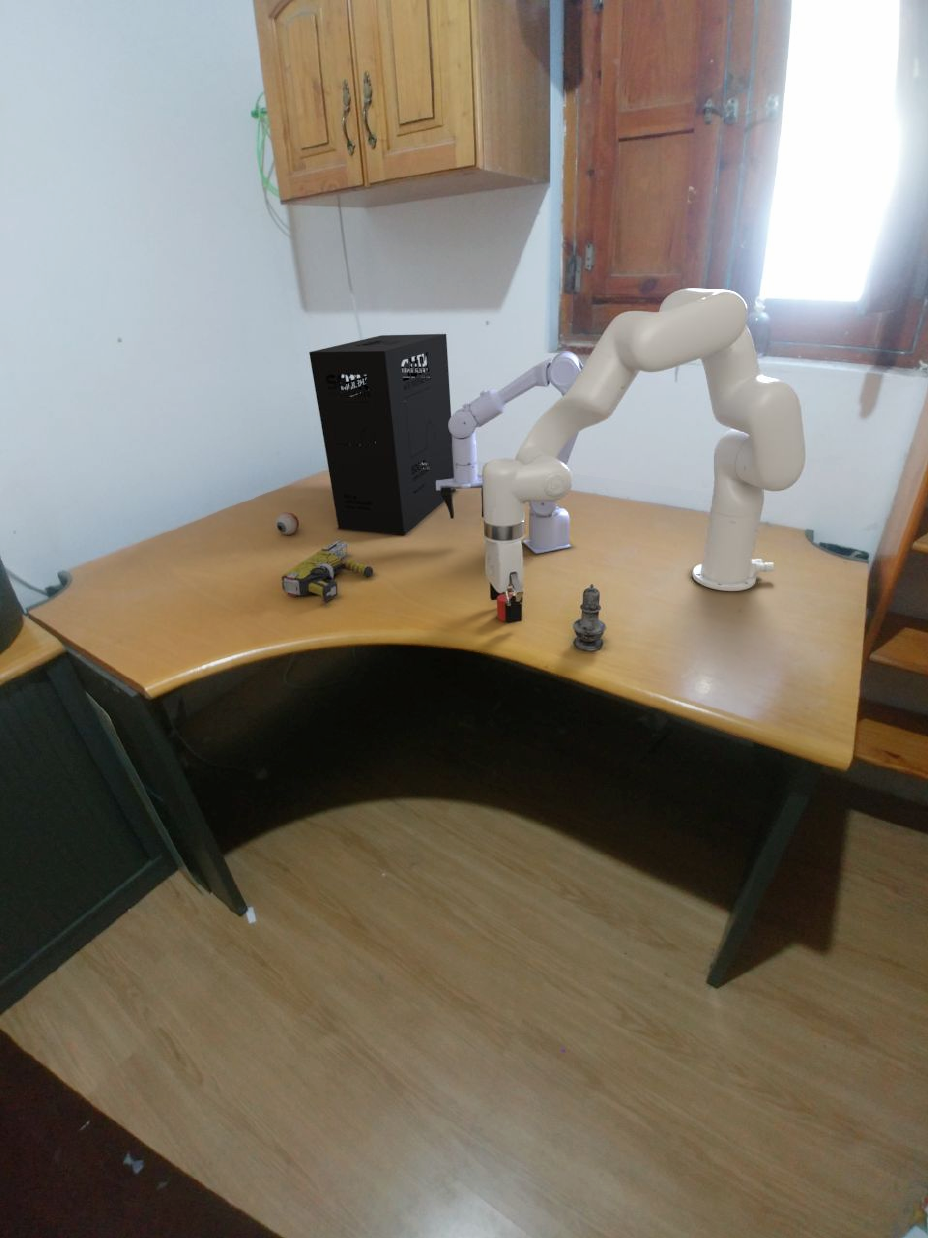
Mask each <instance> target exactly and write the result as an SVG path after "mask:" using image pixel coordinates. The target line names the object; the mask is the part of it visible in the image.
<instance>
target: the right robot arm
mask: <svg viewBox="0 0 928 1238" xmlns="http://www.w3.org/2000/svg"><path fill="white" fill-rule="evenodd" d="M748 316H749V311H748V305H747V303H746V301H745V299H744V298H743V297H742V296H741V295H740V294H739V293H737V292H735V291H732V290H728V289H707V288H682V289H678V290H676V291H673V292H672V293H670V294H669V295H667V296H666V297H665V298H664V299H663V301H662V302H661V304H660V307H659V310H658V311H656V312H654V311H644V310H628V311H625V312H621V313H619V314H618V315H616V316H615V317H614V318H613V319H612V320H611V322H609V324H608V326H607V327H606V328H605V330H604V332H603V334H602V335H601V337H600V338H599V340H598V342H597V343H596V344H595V346H594V348H593V349H592V351H591V353H590V355H589V356H588V358H587V359H586V361H585V363H584V365H583V368H582V370H581V372H580V373H579V374H578V376H577V378H576V379H575V381H574V383H573V384H572V386H571V387H570V389H569V390H568V392H567V393H566V394H565V395H564V396H562V395H561V397H560V398H559V399H558V400H556V401H555V402H554V404H552V405H551V406H550V407H549V408H548V409H547V410H546V411H545V412H544V413H543V414H542V415H541V416H540V417H539V418H538V420H537V421H536V422H535V423H534V424H533V426H532V427H531V429H530V431H529V432H528V434H527V436H526V437H525V439H524V440H523V442H522V444H521V445H520V448H519V449H518V450H517V454H516V455H515V458H495V459H491V460H489V461H487V462H486V463H484V465H483V467H482V469H481V478H482V484H483V514H484V518H483V537H484V539H485V545H484V546H485V547H484V548H485V549H484V551H485V552H484V573H485V577H486V578H487V580H488V581H489V598H490V600H491V601H497V597H498V596H499V595H501V594H505V597H506V602H507V604H505V621H504V622H505V623H506V624H511V623H512V624H514V623H517V622H522V620H523V599H524V590H523V589H524V557H523V545H522V540H524V538H525V537H526V503H529V502H554V501H557V502H558V501H561V500H562V499H564V498H565V497H566V496H567V495H568V494H569V493H570V491H571V490H572V487H573V482H574V478H573V474H572V471H571V469H570V468H569V467H568V466H567V465H565V464H564V463H563V462H561V461H560V460H558V459H557V456H558V454H559V453H560V451H561V450H562V448H563V447H564V446H565V444H566V443H567V442H568V441H569V440H570V439H571V438H572V437H573V436H574V435H575V434H576V433H578V432H579V433H580V432H581V431H583V430H585V429H586V428H589V427H592V426H595V425H598V424H600V423H603V422H605V421H606V420H608V419H609V418H610V417H611V416H612V415H613V414H614V412H615V410H616V409H617V407H618V405H620V402H621V401H622V399H623V398H624V396H625V395H626V393H627V391H628V390H629V388H630V387H631V385H632V384H633V382H634V381H635V379H636V378H637V376H638V375H639V373H640V372H644V373H645V372H646V373H658V372H664V371H667V370H670V369H673V368H677V367H680V366H682V365H683V366H684V365H685V364H689V363H691V362H694V361H697V360H700V361H701V363H702V366H703V370H704V373H705V378H706V384H707V389H708V394H709V395H708V396H709V399H710V404H711V410H712V413H713V417H714V418H715V420H716V421H717V423H719V424H720V425H721V426H724V427H726V428H729V430H727V431H726V432H725V433H723V434H722V436H721V437H720V438H719V440H718V441H717V443H716V445H715V448H714V451H713V452H714V453H713V491H712V497H711V498H712V499H711V505H710V509H709V516H708V523H707V529H706V535H705V536H706V537H705V541H704V547H703V554H702V560H701V563H699V564H698V565H695V566H694V567H693V569H692V578H693V580H694V581H695V582H697V583H698V584H700V585H701V586H704V587H706V588H709V589H711V590H717V591H722V592H723V591H724V592H740V591H745V590H748V589H750V588H752V587H754V585H756V582H757V575H756V574H758V573H759V572H763V573H765V572H774V570H775V564H774V562H772V561H769V562H764V561H763V559H762V558H755V559H754V558H753V557H754V552H755V546H756V542H757V537H758V531H759V528H760V521H761V517H762V513H763V507H764V503H765V491H767V492H782V491H785V490H788V489H790V488H791V487H792V486H794V485H795V484H796V482H798V480H799V479H800V477H801V475H802V473H803V471H804V468H805V463H806V442H805V441H806V440H805V433H804V424H803V416H802V414H803V413H802V407H801V402H800V399H799V396H798V393H797V392H796V390H795V389H794V388H793V387H792V386H791V385H790V384H789V383H787V382H786V381H784V380H781V379H778V378H772V377H768V376H765V375H764V374H763V373H762V372H761V370H760V364H759V360H758V357H757V352H756V347H755V342H754V338H753V335H752V333H751V331H750V329H749V326H748V323H747V322H748V320H749V319H748ZM579 433H578V434H579ZM509 587H510V588H509ZM510 593H513V596H512V597H511V599H510V595H509V594H510Z"/></svg>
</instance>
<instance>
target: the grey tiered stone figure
mask: <svg viewBox="0 0 928 1238" xmlns="http://www.w3.org/2000/svg"><path fill="white" fill-rule="evenodd" d="M600 597H601V592H600V590H599V589H597V588H595V586H594V584H593V583H591V584H590V585H589V587H587V588H585V589H584V590H583V592H582V603H581V604H580V605H579V608H580V610H581V614H580V615H581V616H580V618H578V619H576V620H574V621H573V623H572V629H573V630H574V633H575V635H576V637H575V638H574V639H573V645H574V646H575V647H576V648H578V649H580V650H582V651H591V652H592V651H597V650H599V649H601V648H602V647H603V646H604V640H603V639H602V637H603V636H604V633H605V631H606V630H607V625H606V623H605V622H604V621H602V620H601V619H600V618H599V617H600V611H601V609H602V607H601V605H600Z"/></svg>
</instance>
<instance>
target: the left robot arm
mask: <svg viewBox="0 0 928 1238" xmlns="http://www.w3.org/2000/svg"><path fill="white" fill-rule="evenodd" d="M583 367H584V365H583V363H582V362H581V360H580V359H579V357H578V356H577V355H576V354H575V353H574V352H571V351H567V350H566V351H565V350H564V351H561V352H559V353H557V354H555V356H554V357H549V358H548V359H546V360H543V361H541V362H539V363H537V364H536V365H534V366H532V367H531V368H530V369H528V370H527V371H525V372H524V373H523V374H521V375H520V376H518V377H516V378H515V379H514V380H513V381H511V382H510V383H508V384H507V385H505V386H504V387H503V388H501V389H500V390H496V389H493V388H492V389H488V390H486V389H484V390H482V391H481V392H480V393H479V396H477V398H475V399H473V400H471V402H469V403H468V402H465V403H463V405H462V408H459V409H457V410H456V411H455V412H454V413H453V414H451V418H450V420H449V423H448V427H449V431H450V433H451V434H452V454H453V470H454V478H453V479H446V480H436V490H441V496H442V498H443V499H444V501H443V502H444V503H445V505H446V507H447V510H448V513H449V516H450V519H454V518H455V510H454V509H455V508H454V503H453V493H452V489H456V490H464V489H465V490H466V489H480V491H481V493H480V494H481V518H483V519H484V514H483V484H482V477H479V475H478V474H479V473H478V455H477V453H478V452H477V441H476V428H482V427H483V426H485V425H486V424H488V423H489V422H491V421H492V420H494V419H496V418H497V417H498V416H500V415H502V414H503V413H505V409H506V405H507V404H508V403H510V402H511V401H513V400H514V399H516V398H519V397H520V396H521V395H523V394H525V393H527V392H529V391H530V390H531V389H533V388H536V387H543V388H548V387H549V385H550V384H551V385H552V387H554V388H555V389H556V390H557V391H558V392H559V393H560V394H561V397H562V396H564V395H565V394H566V393H567V392H568V390H569V389H570V387H571V386H572V384H573V383H574V381H575V379H576V378H577V376H578V374H579V373H580V372H581V370H582V368H583ZM579 433H580V431H579V432H578V433H576V434H575V435H574V436H573V437H572V438H571V439H570V440H569V441H568V442H567V443H566V444H565V446H564V447H563V448H562V450H561V451H560V453H559V454H558V456H557V459H558V460H560V461H561V462H563V463H564V464H565V465H566V466H567V465H568V464H569V463H568V462H569V460H570V457H571V455H572V451H573V450H574V448H575V447H574V446H575V444H576V442H577V438H578V436H579ZM557 503H558V501H554V502H528V504H529V509H528V511H529V512H528V513H529V514H528V539H523V541H522V543H523V544H524V545H525V546H526V547H527V548H528V549H530V550H531V551H532V552H533V553H534V554H537V555H538V554H542V553H548V552H552V551H558V550H564V549H568V548H571V544H570V535H571V534H570V533H571V532H570V531H571V519H570V514H569V512H568V511H567V509H566V508H563V507H561V508H560V507H559V506H558V504H557Z"/></svg>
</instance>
